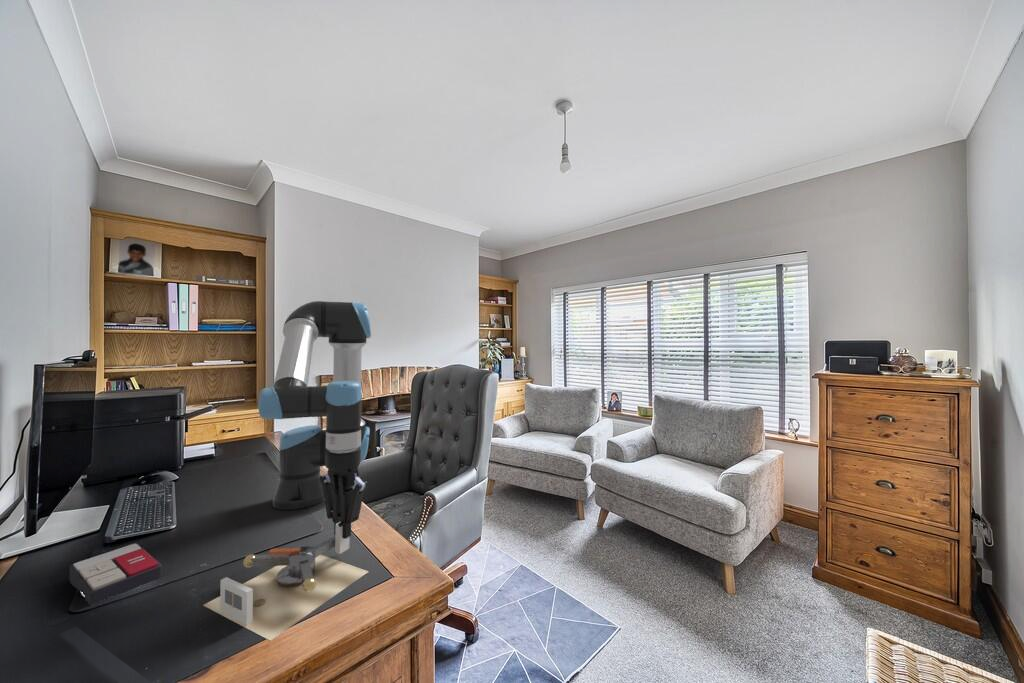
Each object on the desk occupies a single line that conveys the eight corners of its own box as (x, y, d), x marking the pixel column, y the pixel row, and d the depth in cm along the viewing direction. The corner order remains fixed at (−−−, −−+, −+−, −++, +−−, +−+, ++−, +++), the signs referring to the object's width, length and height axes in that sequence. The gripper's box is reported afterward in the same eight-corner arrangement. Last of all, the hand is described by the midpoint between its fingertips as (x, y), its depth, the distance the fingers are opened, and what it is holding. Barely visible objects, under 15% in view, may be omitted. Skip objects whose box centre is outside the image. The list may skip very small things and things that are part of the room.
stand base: (306, 555, 94) (306, 548, 94) (368, 578, 86) (368, 569, 86) (202, 613, 74) (203, 603, 74) (270, 649, 66) (270, 638, 66)
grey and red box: (90, 589, 76) (69, 562, 83) (90, 610, 76) (68, 581, 84) (162, 561, 85) (137, 539, 93) (162, 581, 85) (137, 557, 93)
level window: (226, 608, 73) (226, 576, 73) (253, 622, 70) (253, 588, 70) (219, 612, 72) (219, 580, 72) (246, 626, 69) (246, 592, 69)
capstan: (316, 539, 98) (316, 517, 98) (378, 560, 89) (379, 535, 89) (240, 579, 82) (241, 552, 82) (307, 609, 73) (308, 578, 73)
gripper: (309, 449, 89) (308, 551, 89) (351, 457, 84) (350, 566, 84) (336, 441, 96) (335, 536, 96) (376, 448, 91) (375, 549, 91)
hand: (342, 550), depth 90 cm, fingers closed
